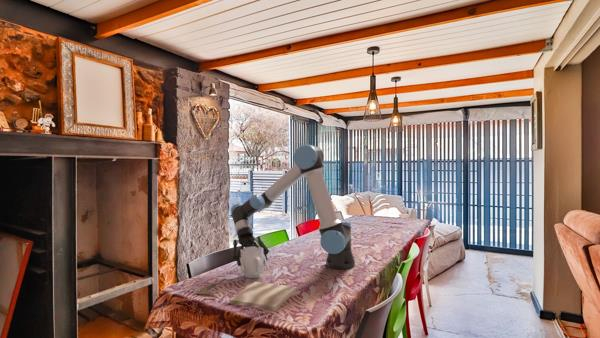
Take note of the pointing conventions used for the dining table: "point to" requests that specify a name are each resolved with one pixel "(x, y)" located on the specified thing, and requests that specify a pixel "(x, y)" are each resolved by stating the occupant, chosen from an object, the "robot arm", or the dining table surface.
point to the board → (263, 295)
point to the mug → (252, 261)
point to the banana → (205, 289)
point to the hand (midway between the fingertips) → (255, 269)
